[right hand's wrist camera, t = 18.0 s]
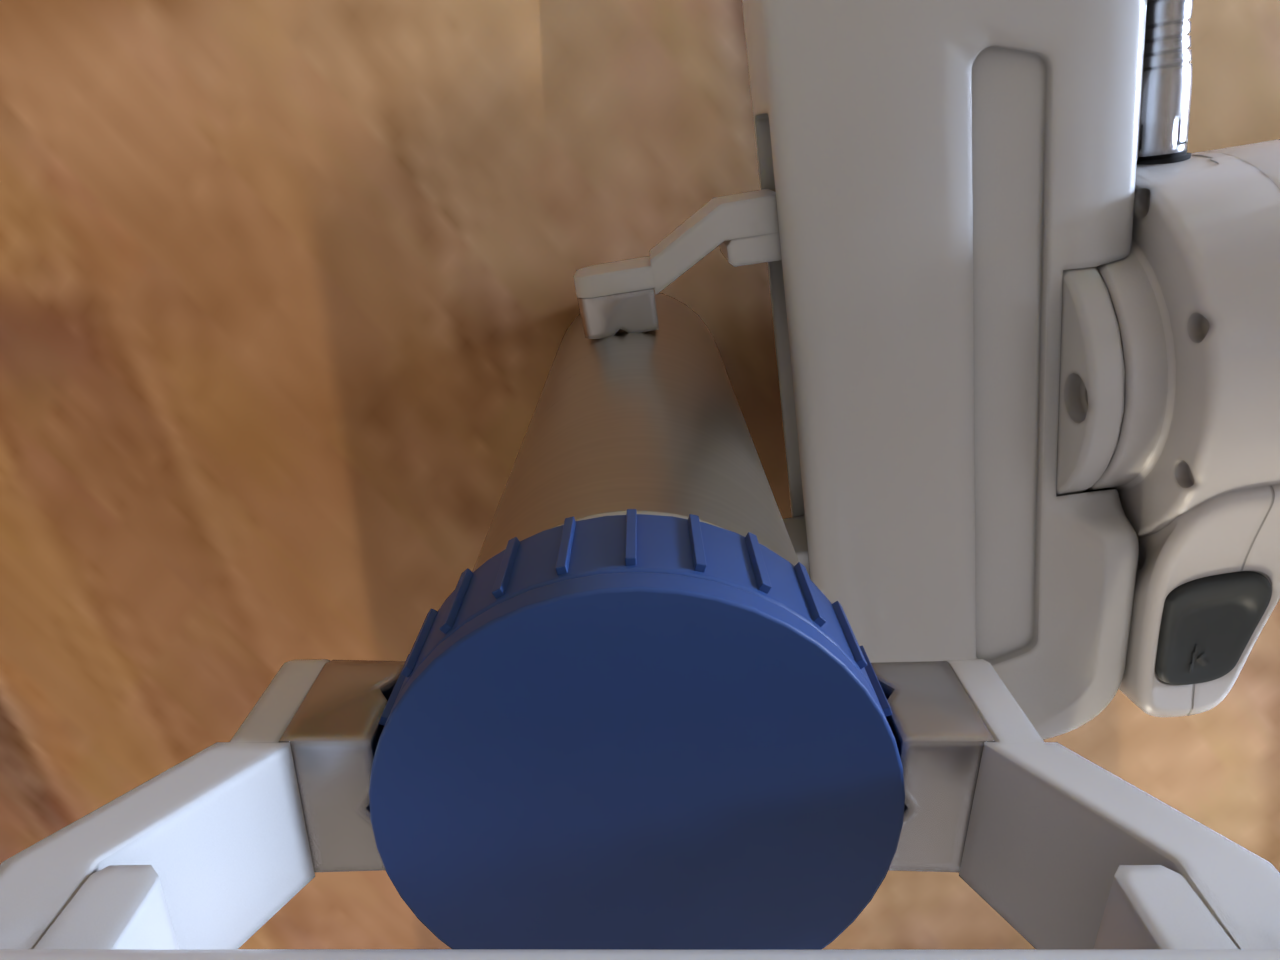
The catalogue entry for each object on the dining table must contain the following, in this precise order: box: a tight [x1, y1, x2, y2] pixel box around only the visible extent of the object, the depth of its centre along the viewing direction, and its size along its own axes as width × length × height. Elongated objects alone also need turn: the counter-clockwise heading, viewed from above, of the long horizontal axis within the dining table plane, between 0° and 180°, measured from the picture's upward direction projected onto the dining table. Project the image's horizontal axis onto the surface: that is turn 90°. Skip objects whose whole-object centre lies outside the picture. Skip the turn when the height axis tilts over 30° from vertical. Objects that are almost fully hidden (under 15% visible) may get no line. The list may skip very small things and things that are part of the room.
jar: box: [473, 293, 799, 572], centre depth 18 cm, size 5×5×18 cm
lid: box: [369, 509, 905, 950], centre depth 10 cm, size 6×6×2 cm
